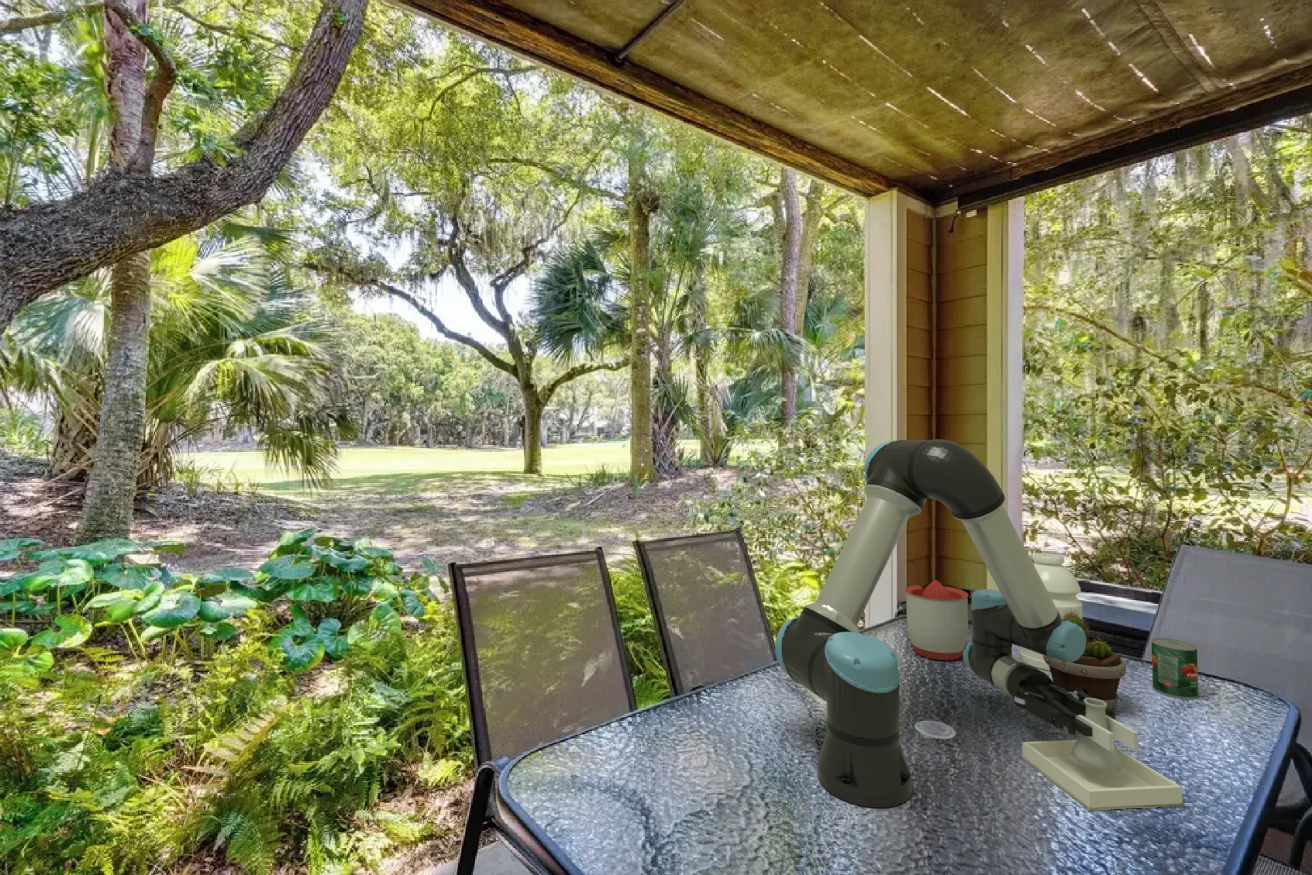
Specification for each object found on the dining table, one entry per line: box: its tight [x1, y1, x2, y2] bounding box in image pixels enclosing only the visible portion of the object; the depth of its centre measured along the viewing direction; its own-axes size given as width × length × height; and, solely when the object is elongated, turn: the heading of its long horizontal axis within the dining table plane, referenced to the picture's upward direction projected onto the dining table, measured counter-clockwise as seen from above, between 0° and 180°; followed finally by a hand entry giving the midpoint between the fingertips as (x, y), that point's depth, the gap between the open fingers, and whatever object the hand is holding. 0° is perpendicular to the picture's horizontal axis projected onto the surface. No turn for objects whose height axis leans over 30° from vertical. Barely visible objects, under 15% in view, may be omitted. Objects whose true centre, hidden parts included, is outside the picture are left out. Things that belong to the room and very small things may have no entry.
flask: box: [1071, 698, 1124, 772], centre depth 99 cm, size 7×7×10 cm
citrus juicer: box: [904, 579, 969, 661], centre depth 160 cm, size 16×17×20 cm
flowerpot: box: [1043, 610, 1127, 710], centre depth 128 cm, size 14×15×20 cm
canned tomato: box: [1150, 637, 1199, 700], centre depth 133 cm, size 8×8×11 cm
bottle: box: [1018, 552, 1084, 671], centre depth 151 cm, size 14×14×28 cm
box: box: [1021, 739, 1183, 812], centre depth 98 cm, size 15×15×3 cm
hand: (1123, 741), depth 93 cm, fingers closed on flask, 3 cm apart
